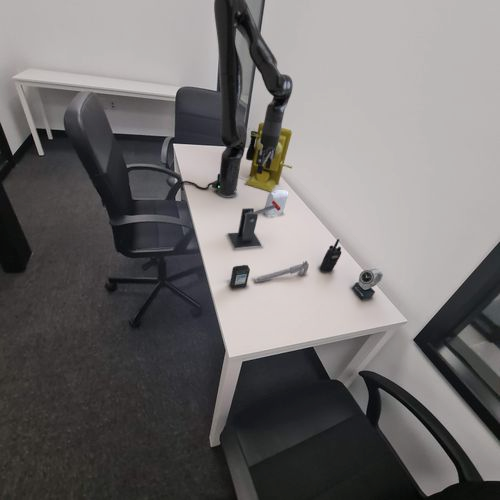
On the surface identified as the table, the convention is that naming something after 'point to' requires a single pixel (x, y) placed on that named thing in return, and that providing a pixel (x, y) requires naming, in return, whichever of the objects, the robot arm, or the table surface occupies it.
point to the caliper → (285, 272)
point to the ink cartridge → (239, 276)
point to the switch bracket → (245, 231)
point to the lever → (265, 209)
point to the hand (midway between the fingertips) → (263, 170)
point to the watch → (367, 283)
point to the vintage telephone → (268, 175)
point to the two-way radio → (331, 258)
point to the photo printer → (279, 198)
